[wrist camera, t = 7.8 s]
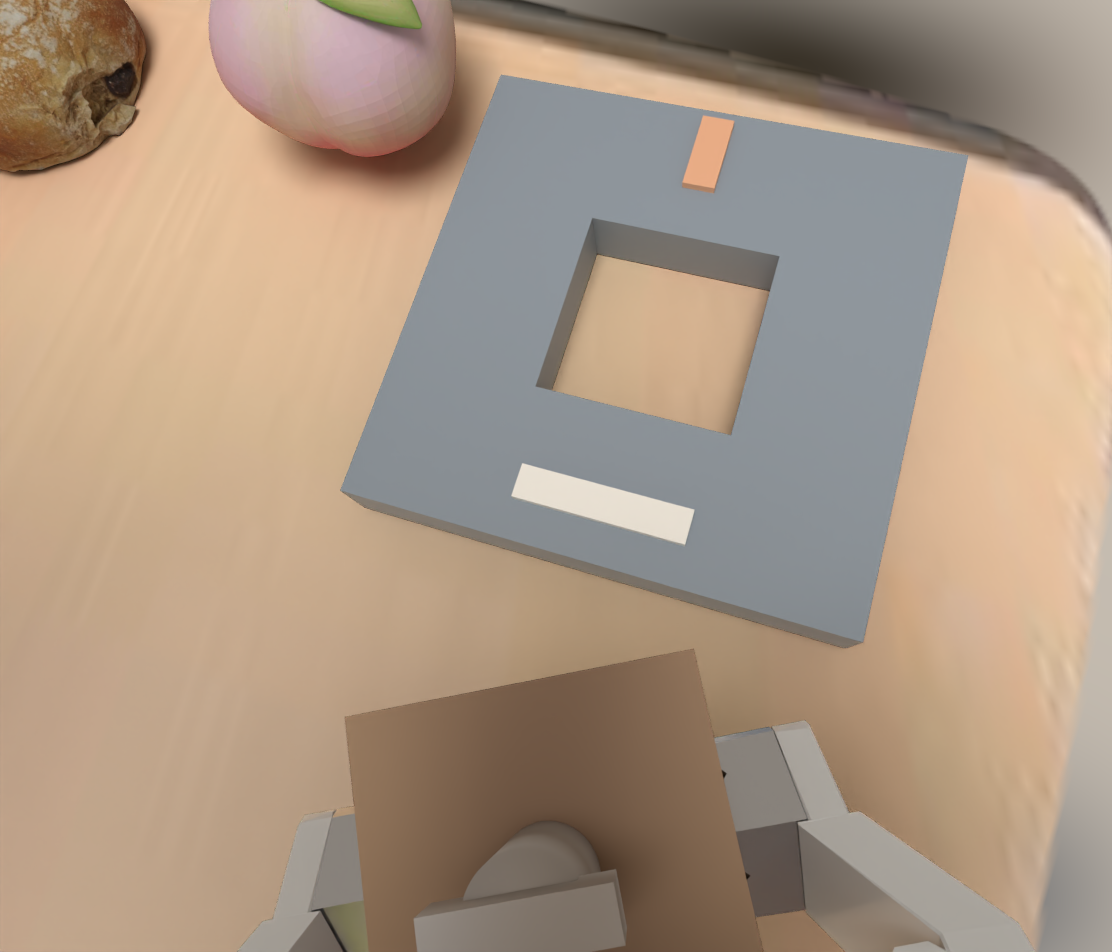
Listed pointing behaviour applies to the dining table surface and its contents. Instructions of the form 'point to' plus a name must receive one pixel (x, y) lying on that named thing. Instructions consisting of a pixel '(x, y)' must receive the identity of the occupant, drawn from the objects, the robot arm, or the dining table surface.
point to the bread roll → (65, 78)
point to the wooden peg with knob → (551, 818)
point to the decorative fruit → (338, 68)
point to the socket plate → (648, 441)
